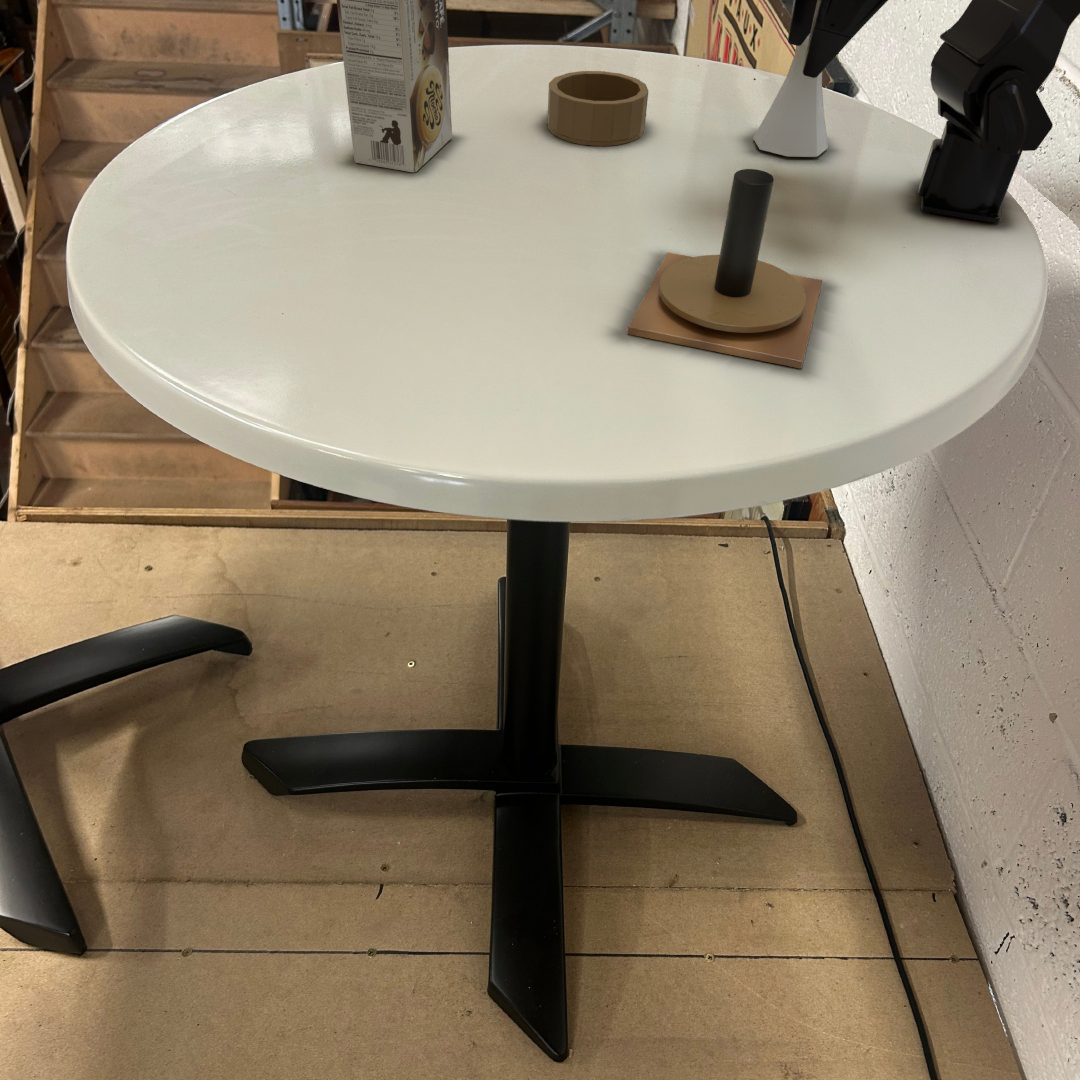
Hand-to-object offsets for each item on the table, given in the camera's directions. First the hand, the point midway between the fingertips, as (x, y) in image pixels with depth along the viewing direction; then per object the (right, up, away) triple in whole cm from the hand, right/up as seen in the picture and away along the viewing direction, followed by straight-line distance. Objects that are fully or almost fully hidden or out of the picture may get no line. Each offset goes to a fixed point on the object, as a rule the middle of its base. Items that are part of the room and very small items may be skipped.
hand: (800, 59), depth 71 cm
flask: (+4, +1, +19) cm, 20 cm away
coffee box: (-33, -1, +15) cm, 36 cm away
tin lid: (-6, -20, -5) cm, 21 cm away
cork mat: (-6, -20, -4) cm, 22 cm away
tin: (-15, +4, +21) cm, 26 cm away
